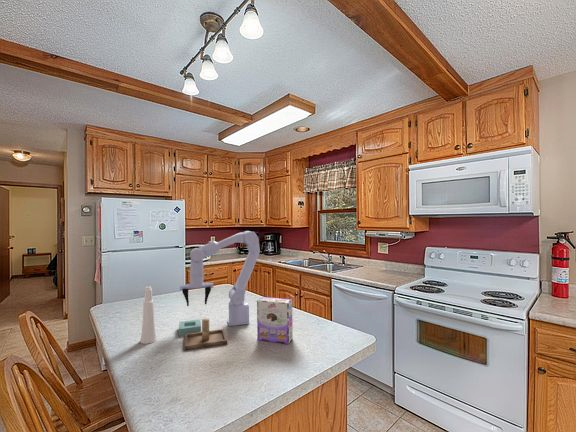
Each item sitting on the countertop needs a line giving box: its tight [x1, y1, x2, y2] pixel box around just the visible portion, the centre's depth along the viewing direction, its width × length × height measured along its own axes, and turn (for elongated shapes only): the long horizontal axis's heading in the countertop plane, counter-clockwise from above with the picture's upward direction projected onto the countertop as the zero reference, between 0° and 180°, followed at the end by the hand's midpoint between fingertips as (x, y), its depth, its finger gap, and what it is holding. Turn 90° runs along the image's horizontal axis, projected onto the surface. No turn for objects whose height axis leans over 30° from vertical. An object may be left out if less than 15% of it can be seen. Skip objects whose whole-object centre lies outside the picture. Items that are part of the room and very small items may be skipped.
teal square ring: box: [178, 318, 202, 337], centre depth 125 cm, size 9×9×3 cm
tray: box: [184, 328, 229, 351], centre depth 115 cm, size 16×12×2 cm
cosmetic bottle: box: [139, 285, 157, 345], centre depth 115 cm, size 6×6×22 cm
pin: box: [201, 317, 210, 341], centre depth 115 cm, size 3×3×8 cm
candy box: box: [256, 296, 294, 345], centre depth 117 cm, size 14×6×16 cm, turn 71°
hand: (196, 304), depth 129 cm, fingers open, 7 cm apart
